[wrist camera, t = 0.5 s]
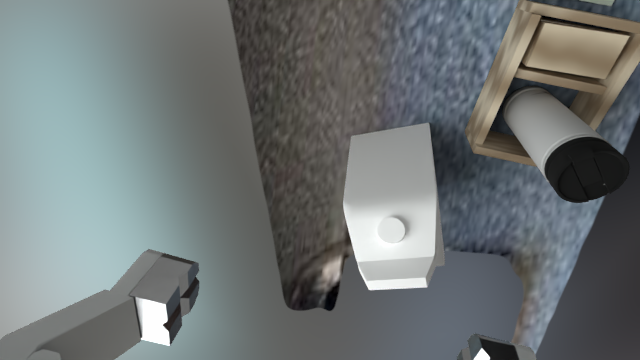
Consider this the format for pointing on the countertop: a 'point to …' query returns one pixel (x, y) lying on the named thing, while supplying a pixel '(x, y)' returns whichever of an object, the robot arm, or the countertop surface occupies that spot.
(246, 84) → the countertop surface
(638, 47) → the birch rack
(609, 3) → the sage mat
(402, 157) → the milk
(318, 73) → the countertop surface
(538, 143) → the travel mug
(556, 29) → the offcut top
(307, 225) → the countertop surface
